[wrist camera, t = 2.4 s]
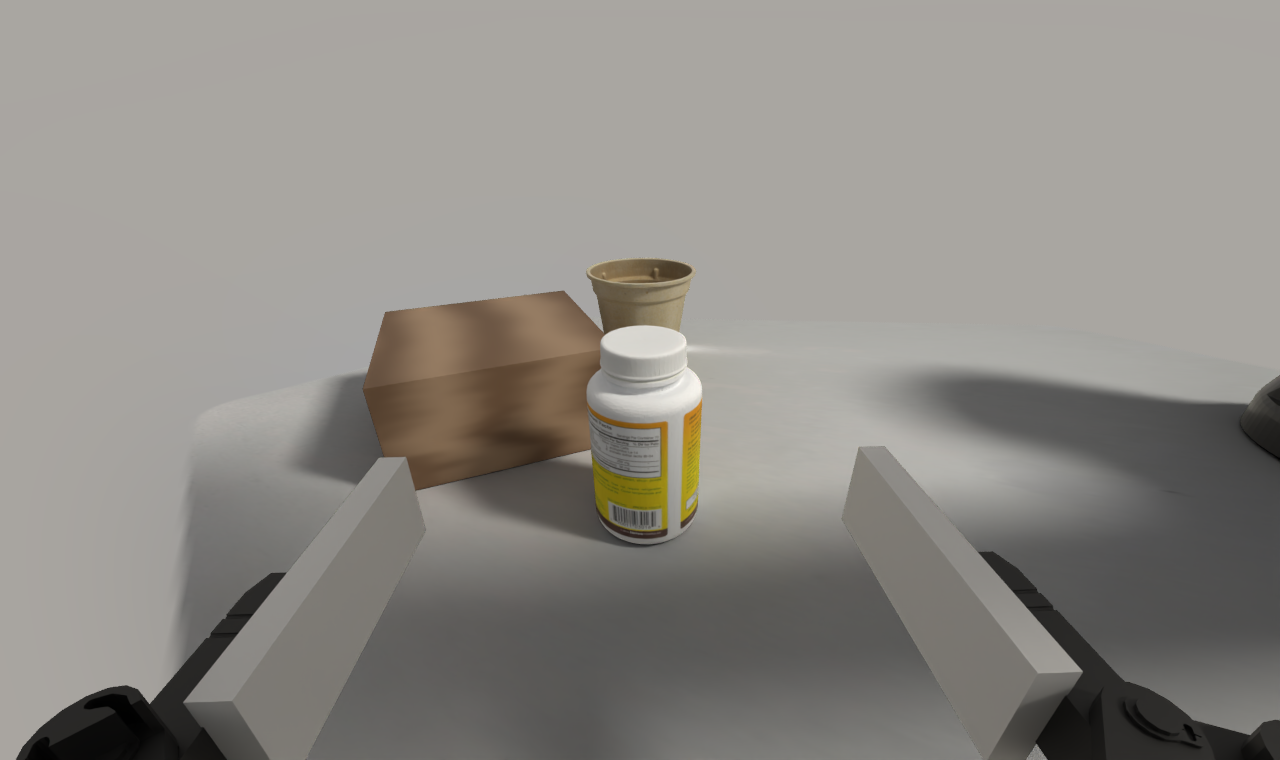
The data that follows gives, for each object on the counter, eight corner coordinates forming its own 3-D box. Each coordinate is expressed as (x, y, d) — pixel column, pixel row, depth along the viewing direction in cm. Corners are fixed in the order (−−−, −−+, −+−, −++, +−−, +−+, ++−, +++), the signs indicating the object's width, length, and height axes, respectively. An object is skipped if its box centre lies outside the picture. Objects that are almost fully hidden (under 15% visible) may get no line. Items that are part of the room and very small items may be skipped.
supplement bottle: (668, 470, 29) (670, 313, 25) (716, 529, 25) (729, 349, 20) (582, 495, 27) (567, 329, 23) (617, 565, 23) (607, 374, 18)
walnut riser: (570, 364, 44) (563, 290, 41) (620, 441, 32) (616, 347, 29) (406, 392, 39) (385, 312, 36) (396, 494, 28) (362, 389, 24)
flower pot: (713, 358, 44) (718, 267, 41) (644, 393, 38) (642, 290, 34) (641, 335, 50) (639, 253, 46) (572, 362, 44) (563, 270, 40)
